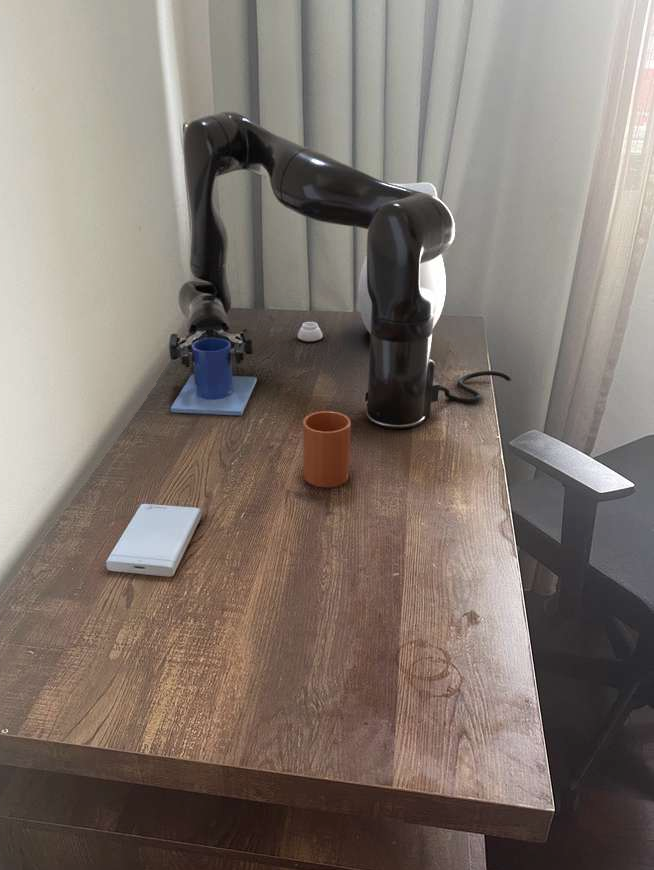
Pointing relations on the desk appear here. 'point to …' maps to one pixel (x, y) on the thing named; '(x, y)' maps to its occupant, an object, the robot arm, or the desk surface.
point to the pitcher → (429, 272)
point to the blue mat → (224, 406)
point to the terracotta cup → (326, 448)
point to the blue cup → (212, 368)
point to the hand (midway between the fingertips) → (213, 360)
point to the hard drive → (155, 540)
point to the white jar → (310, 332)
